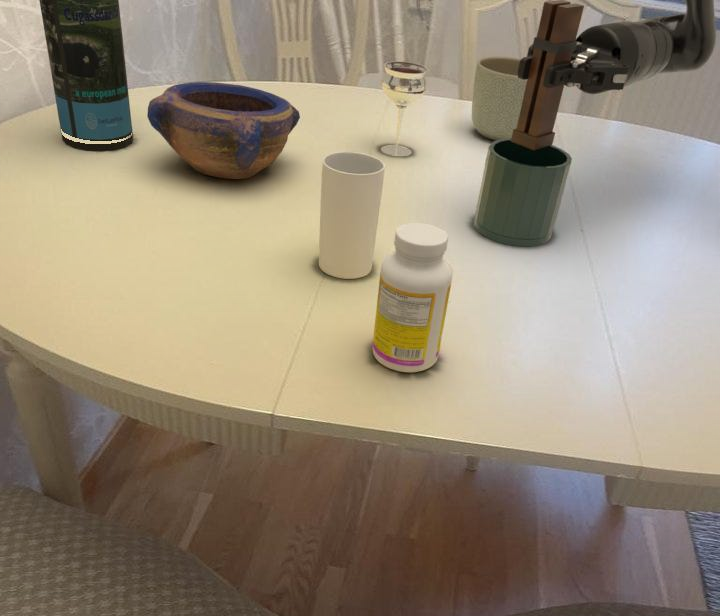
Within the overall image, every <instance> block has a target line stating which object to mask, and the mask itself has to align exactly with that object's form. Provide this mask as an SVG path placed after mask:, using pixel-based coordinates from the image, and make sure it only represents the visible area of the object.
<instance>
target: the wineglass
mask: <svg viewBox="0 0 720 616" xmlns="http://www.w3.org/2000/svg"><path fill="white" fill-rule="evenodd" d="M383 68H384V71H385V72H384V73H383V75H382V79H381V86H382V91H383V93H384V94H385V96H386V98H387V99H388V100H389V101H390V102H392V103H393V104H395V106H396V109H398V111H397V122H396V123H397V124H396V136H395V144H389V145H384V146H382V147H380V151H381V152H382V153H383V154H384V155H388V156H393V157H408V156H411V155H412V154H413V151H412V150H411V149H409V148H408V147H405V146H403V145H399V141H400V135H401V129H402V122H403V116H404V110H406V109H407V107H408V106H411V105H413V104H416V103H417V101H419V100H420V99H421V98H422V97H423V96H424V94H425V92H426V91H427V78H426V75H427V74H428V72H429V69H428V67H426V66H425V65H422V64H419V63H416V62H415V63H414V62H410V61H398V60H397V61H395V60H394V61H389V62H385V63H383Z"/></svg>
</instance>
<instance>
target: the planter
mask: <svg viewBox="0 0 720 616" xmlns="http://www.w3.org/2000/svg"><path fill="white" fill-rule="evenodd" d="M521 59H522V58H518V57H514V56H513V57H512V56H499V55H498V56H497V55H496V56H495V55H494V56H485V57H481V58H479V59H478V60H477V62H476V68H475V74H474V81H473V90H472V100H471V122H472V126H474V128H475V130H476V131H477V132H478V133H479V134H480V135H481V136H483V137H484V138H486V139H488V140H492V141H496V140H501V139H511V138H512V133H513V129H516V128H517V124H518V120H519V115H520V110H521V106H522V101H523V97H524V92H525V88H526V83H527V79H525V80H523V79H520V78H518V68H519V63H520V60H521Z"/></svg>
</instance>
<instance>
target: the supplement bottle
mask: <svg viewBox="0 0 720 616" xmlns="http://www.w3.org/2000/svg"><path fill="white" fill-rule="evenodd" d="M448 240H449V236H448V233H447V232H446V231H445V230H443V229H442V228H440V227H438V226H435V225H433V224H428V223H423V222H410V223H409V222H408V223H404V224H402V225H400V226H398V227H397V228H396V230H395V235H394V241H393V245H394V248H395V250H394V251H392V252H390V253H389V254H388V255H387V256H385V258H384V259H383V260H382V262H381V264H380V265H381V266H380V271H379V281H378V292H377V300H376V308H375V309H376V310H375V318H374V326H373V327H374V329H373V337H372V353H373V356H374V358H375V359H376V361H377V362H378V363H380V364H381V365H382V366H384V367H386V368H388V369H391V370H393V371H396V372H402V373H418V372H422V371H425V370H427V369H429V368H431V367H433V366H434V365H435V364H436V362H437V360H438V358H439V353H440V350H441V344H442V338H443V333H444V327H445V322H446V315H447V310H448V304H449V298H450V293H451V286H452V281H453V269H452V266H451V264H450V262H449V261H448V260H447V258H445V257H444V255H445V253H446V251H447V247H448V242H449V241H448Z"/></svg>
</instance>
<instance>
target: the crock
mask: <svg viewBox="0 0 720 616" xmlns="http://www.w3.org/2000/svg"><path fill="white" fill-rule="evenodd" d="M572 161H573V158H572V156H571V155H570V154H569V153H568V152H566V150H564V149H562V148H560V147H558V146H556V145H553V144H552V145H550V146H547V147H544V148H540V149H537V150H531V149H529V148H526V147H523V146H521V145H518V144H516V143H513V142H511V139H501V140H496V141H495V140H493V141H492V142H491V143H489V145H488V148H487V153H486V158H485V163H484V168H483V173H482V178H481V182H480V188H479V193H478V199H477V204H476V209H475V213H474V221H473V226H474V229H475V230H476V231H477V232H478V233H479V234H480V235H482V236H483V237H485V238H487V239H489V240H491V241H494V242H496V243H500V244H503V245H508V246H515V247H537V246H541V245H543V244H546V243H547V242H549V241H550V240H551V238H552V234H553V231H554V227H555V223H556V220H557V217H558V213H559V209H560V206H561V201H562V198H563V195H564V191H565V188H566V184H567V180H568V176H569V172H570V168H571V164H572Z"/></svg>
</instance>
